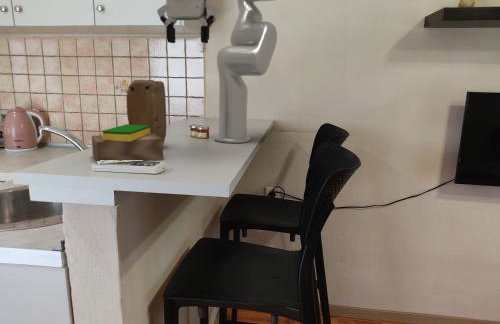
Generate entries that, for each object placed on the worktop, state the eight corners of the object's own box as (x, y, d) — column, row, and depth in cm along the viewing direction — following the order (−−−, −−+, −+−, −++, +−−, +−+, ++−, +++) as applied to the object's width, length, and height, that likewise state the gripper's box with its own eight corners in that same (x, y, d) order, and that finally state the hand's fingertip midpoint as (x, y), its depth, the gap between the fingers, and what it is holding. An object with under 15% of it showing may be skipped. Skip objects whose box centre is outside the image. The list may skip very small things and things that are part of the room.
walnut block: (153, 154, 109) (152, 133, 107) (163, 161, 100) (162, 138, 99) (92, 158, 101) (91, 135, 100) (98, 166, 92) (96, 141, 91)
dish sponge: (102, 140, 93) (101, 130, 92) (126, 132, 106) (125, 124, 106) (130, 141, 92) (129, 131, 92) (150, 134, 106) (150, 125, 105)
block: (168, 146, 118) (167, 80, 114) (155, 150, 111) (154, 80, 107) (138, 143, 121) (136, 79, 117) (124, 147, 114) (121, 79, 110)
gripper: (149, -30, 97) (151, 41, 101) (212, -33, 92) (212, 41, 96) (164, -22, 104) (165, 43, 108) (224, -26, 99) (223, 44, 103)
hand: (187, 42), depth 102 cm, fingers open, 9 cm apart
